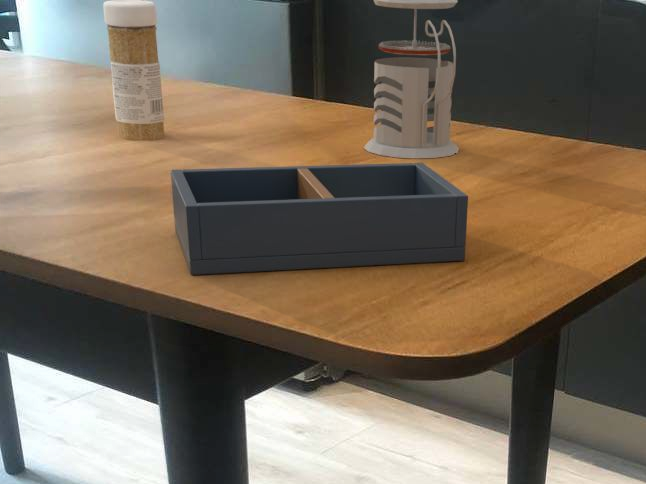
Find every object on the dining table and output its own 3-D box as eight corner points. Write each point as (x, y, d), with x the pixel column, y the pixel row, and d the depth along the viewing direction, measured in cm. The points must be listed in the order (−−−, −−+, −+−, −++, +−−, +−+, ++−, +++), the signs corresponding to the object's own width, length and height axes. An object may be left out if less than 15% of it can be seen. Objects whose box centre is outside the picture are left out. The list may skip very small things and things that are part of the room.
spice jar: (143, 150, 106) (129, -2, 99) (177, 156, 104) (166, 1, 97) (108, 157, 102) (91, 0, 96) (143, 164, 100) (128, 3, 94)
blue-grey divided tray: (190, 275, 71) (185, 206, 69) (175, 232, 80) (170, 169, 78) (465, 260, 76) (468, 195, 74) (420, 221, 85) (422, 162, 83)
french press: (431, 137, 116) (440, -135, 104) (486, 158, 108) (504, -136, 95) (347, 142, 112) (347, -140, 100) (398, 165, 103) (405, -142, 91)
